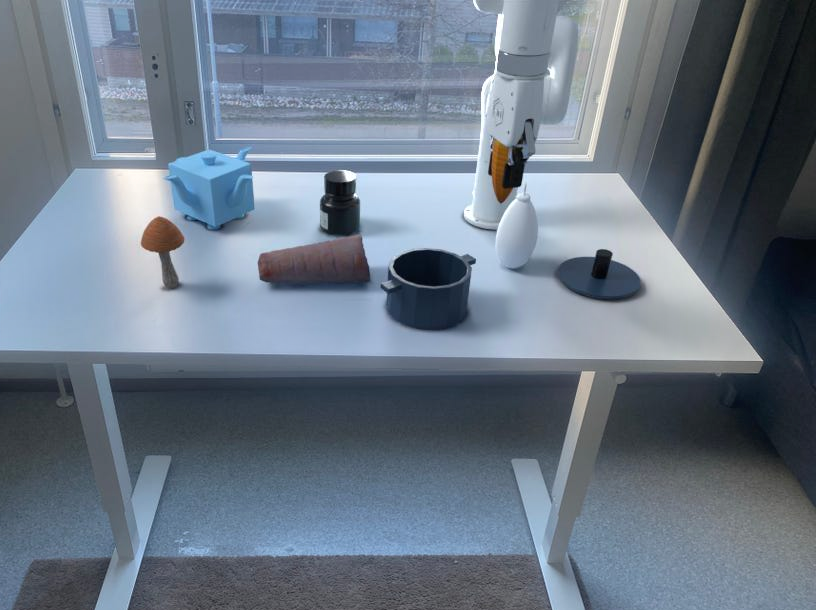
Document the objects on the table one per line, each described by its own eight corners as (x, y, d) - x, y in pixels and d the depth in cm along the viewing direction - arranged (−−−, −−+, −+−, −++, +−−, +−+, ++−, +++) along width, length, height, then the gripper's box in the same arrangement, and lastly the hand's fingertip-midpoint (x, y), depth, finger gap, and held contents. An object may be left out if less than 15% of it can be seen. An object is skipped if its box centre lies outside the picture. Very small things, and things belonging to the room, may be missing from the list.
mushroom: (155, 302, 132) (142, 229, 123) (144, 282, 137) (131, 211, 128) (196, 291, 134) (186, 219, 126) (183, 273, 140) (173, 203, 131)
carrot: (516, 210, 115) (531, 118, 106) (485, 208, 115) (497, 116, 106) (515, 198, 119) (530, 108, 110) (485, 196, 119) (498, 106, 110)
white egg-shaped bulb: (535, 262, 144) (551, 178, 133) (525, 279, 138) (541, 193, 128) (498, 254, 147) (511, 171, 136) (486, 270, 141) (499, 185, 131)
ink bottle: (327, 216, 162) (326, 165, 154) (364, 220, 160) (365, 169, 152) (314, 234, 154) (313, 182, 147) (353, 239, 152) (354, 187, 145)
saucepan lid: (539, 274, 140) (545, 247, 136) (592, 254, 147) (599, 227, 143) (602, 310, 129) (610, 281, 126) (656, 286, 136) (665, 258, 133)
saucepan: (359, 305, 131) (360, 265, 126) (442, 276, 139) (446, 237, 134) (407, 343, 121) (410, 301, 116) (493, 309, 130) (500, 269, 125)
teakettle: (179, 201, 168) (170, 140, 159) (257, 199, 169) (253, 138, 160) (171, 237, 153) (160, 172, 144) (257, 234, 154) (252, 169, 145)
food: (361, 266, 143) (363, 226, 138) (371, 289, 135) (373, 248, 130) (257, 274, 140) (254, 233, 135) (261, 298, 132) (258, 256, 127)
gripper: (475, 50, 109) (462, 163, 120) (524, 80, 96) (505, 204, 107) (519, 48, 111) (503, 160, 122) (573, 76, 98) (549, 199, 109)
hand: (504, 179), depth 114 cm, fingers closed on carrot, 4 cm apart
